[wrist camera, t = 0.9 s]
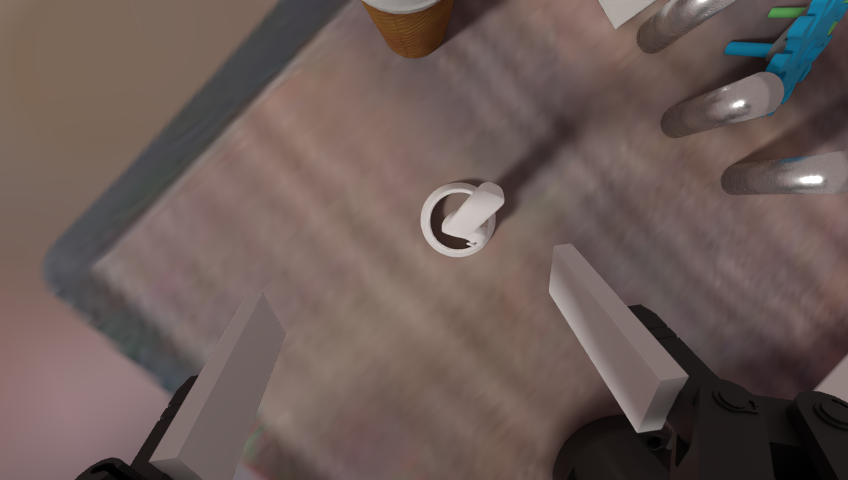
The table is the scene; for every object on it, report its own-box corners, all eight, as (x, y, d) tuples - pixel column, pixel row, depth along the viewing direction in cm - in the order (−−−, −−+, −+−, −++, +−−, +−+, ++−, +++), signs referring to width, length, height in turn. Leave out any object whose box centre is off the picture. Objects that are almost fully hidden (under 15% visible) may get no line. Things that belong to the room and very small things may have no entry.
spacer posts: (890, 102, 29) (1058, 66, 21) (711, 212, 31) (804, 216, 23) (793, -83, 28) (934, -196, 20) (611, 45, 30) (674, -11, 22)
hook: (546, 144, 26) (551, 216, 23) (482, 213, 37) (480, 269, 34) (462, 117, 25) (456, 190, 22) (420, 197, 35) (412, 254, 32)
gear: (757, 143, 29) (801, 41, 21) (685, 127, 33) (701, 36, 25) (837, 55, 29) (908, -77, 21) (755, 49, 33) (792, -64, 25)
